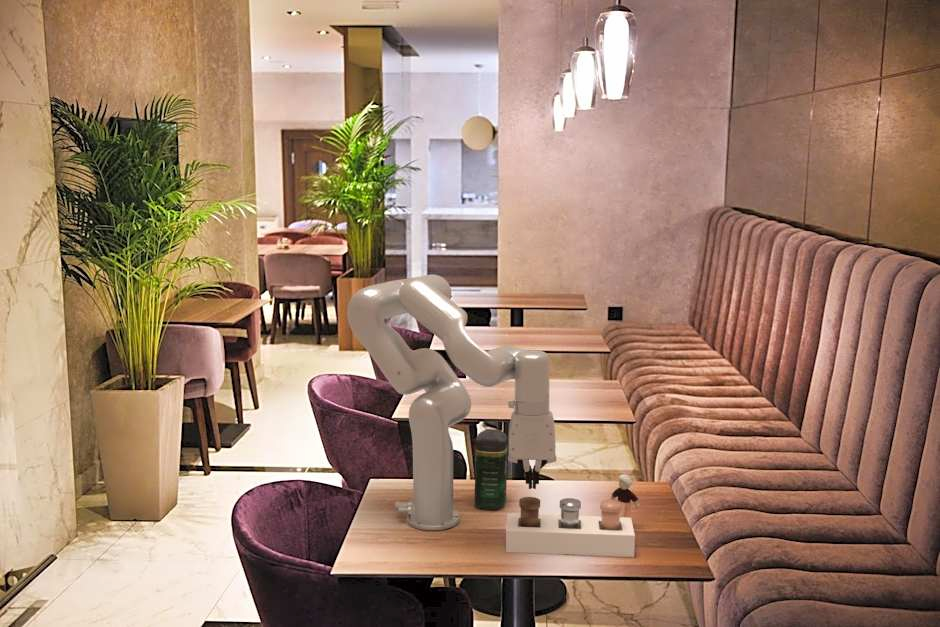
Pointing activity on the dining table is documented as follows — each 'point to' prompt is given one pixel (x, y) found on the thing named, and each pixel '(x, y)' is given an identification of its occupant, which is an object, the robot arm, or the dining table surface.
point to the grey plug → (570, 513)
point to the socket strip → (570, 537)
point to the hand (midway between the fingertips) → (532, 486)
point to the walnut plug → (529, 511)
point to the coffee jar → (490, 469)
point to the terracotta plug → (610, 514)
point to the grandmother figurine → (625, 496)
